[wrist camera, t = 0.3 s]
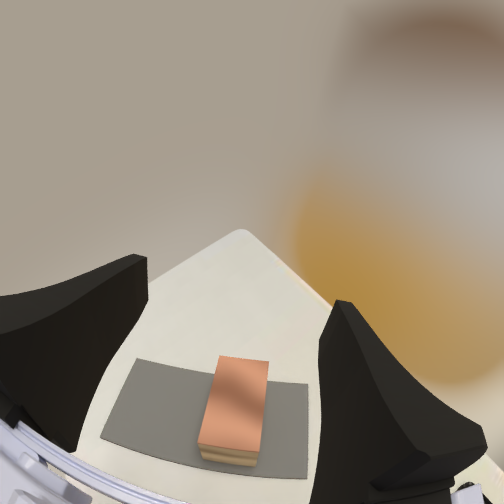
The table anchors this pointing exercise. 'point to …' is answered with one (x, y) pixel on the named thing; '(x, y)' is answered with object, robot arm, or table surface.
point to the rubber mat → (191, 417)
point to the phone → (468, 484)
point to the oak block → (234, 412)
